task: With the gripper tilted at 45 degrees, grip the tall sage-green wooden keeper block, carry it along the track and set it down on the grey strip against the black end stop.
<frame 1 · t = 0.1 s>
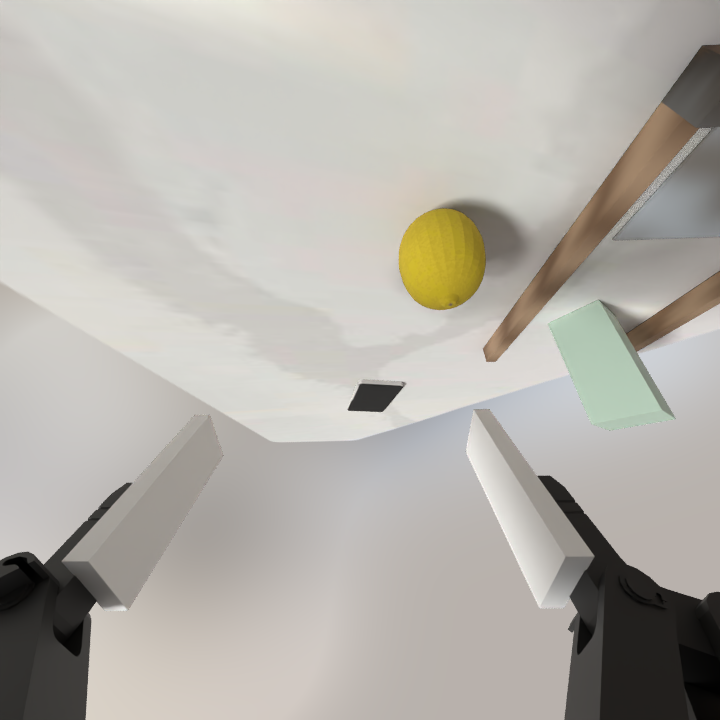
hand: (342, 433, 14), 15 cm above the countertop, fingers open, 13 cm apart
keeper block: (580, 319, 31), on the countertop
lemon: (430, 220, 20), on the countertop
smartphone: (372, 393, 52), on the countertop
track: (718, 199, 19), on the countertop
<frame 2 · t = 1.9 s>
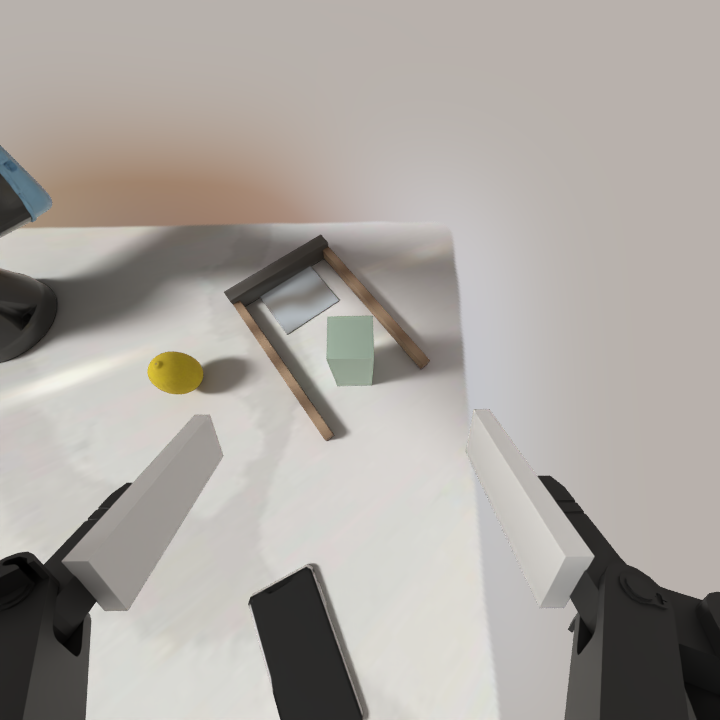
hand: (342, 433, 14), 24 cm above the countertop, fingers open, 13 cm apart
keeper block: (354, 369, 40), on the countertop
lemon: (195, 381, 40), on the countertop
smartphone: (305, 649, 30), on the countertop
track: (303, 304, 44), on the countertop
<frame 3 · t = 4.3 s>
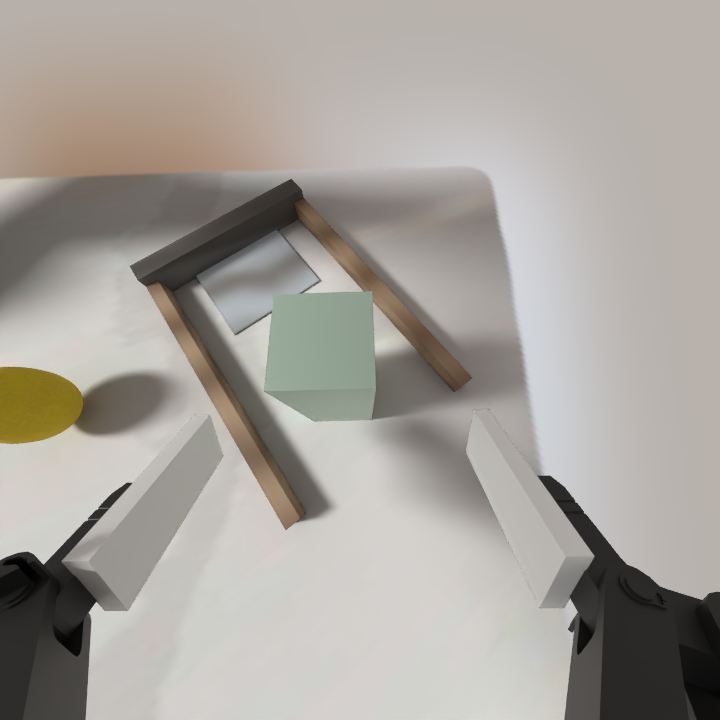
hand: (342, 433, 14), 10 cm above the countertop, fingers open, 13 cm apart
keeper block: (342, 392, 24), on the countertop
lemon: (79, 413, 24), on the countertop
track: (263, 287, 28), on the countertop
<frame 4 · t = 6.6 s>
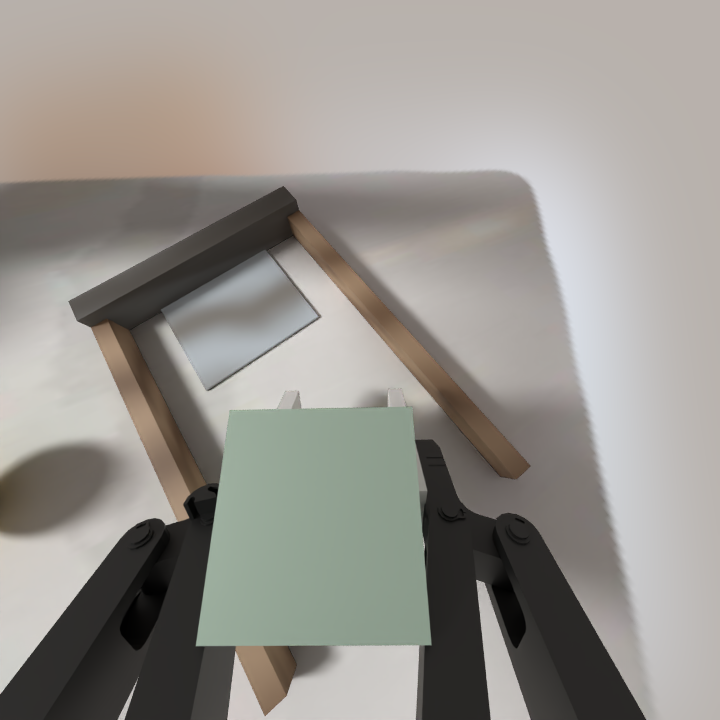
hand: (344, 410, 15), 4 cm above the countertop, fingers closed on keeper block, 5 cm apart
keeper block: (348, 475, 18), on the countertop, touching gripper
track: (246, 325, 22), on the countertop
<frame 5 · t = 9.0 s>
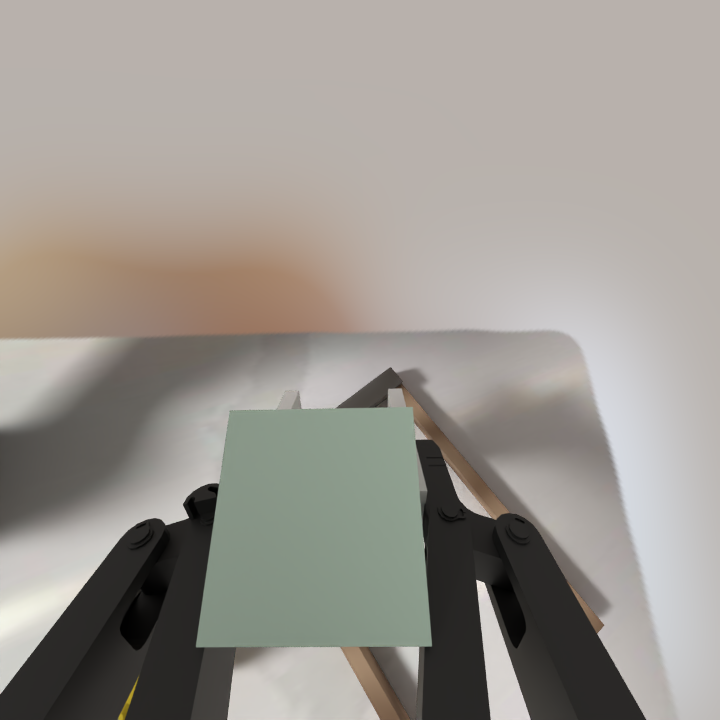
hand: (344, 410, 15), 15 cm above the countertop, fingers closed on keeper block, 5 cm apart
keeper block: (349, 475, 18), point 11 cm above the countertop, touching gripper
track: (366, 481, 28), on the countertop
when the fingers open (5 cm above the countertop, at t = 11.6 s): keeper block drops 1 cm, resting on track.
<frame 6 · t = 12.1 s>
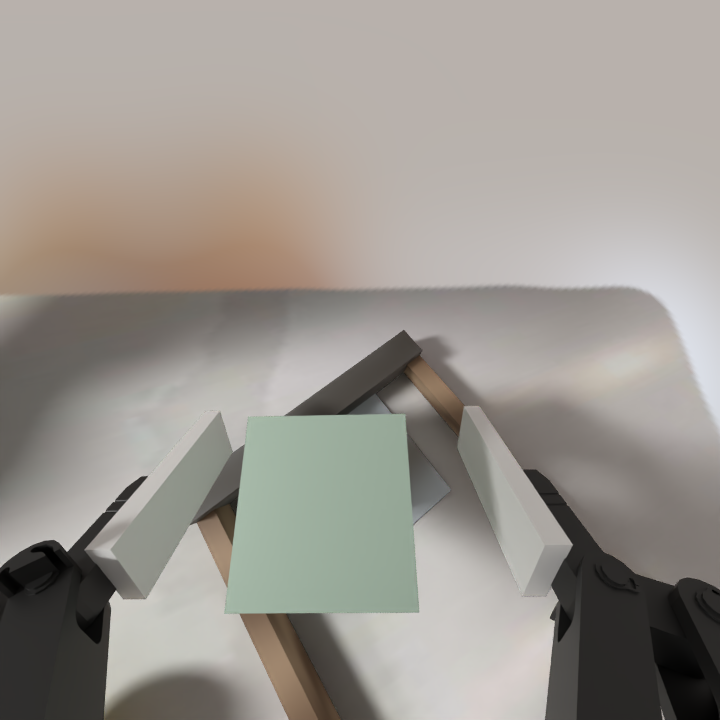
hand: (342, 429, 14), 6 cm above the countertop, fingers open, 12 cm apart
keeper block: (349, 474, 19), resting on track
track: (367, 498, 19), on the countertop
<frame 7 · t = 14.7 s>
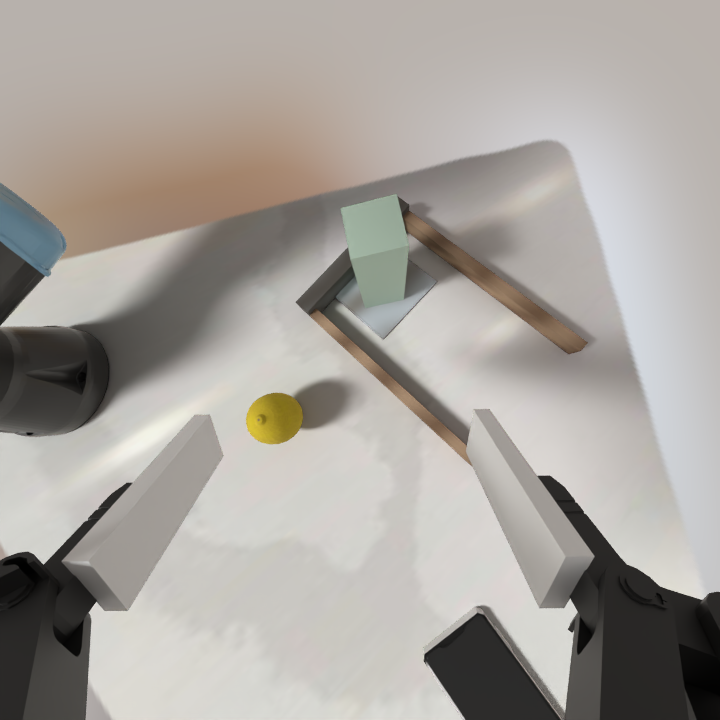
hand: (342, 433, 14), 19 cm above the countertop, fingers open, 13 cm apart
keeper block: (380, 285, 35), resting on track
lemon: (290, 416, 34), on the countertop
smartphone: (497, 693, 27), on the countertop
track: (392, 295, 35), on the countertop
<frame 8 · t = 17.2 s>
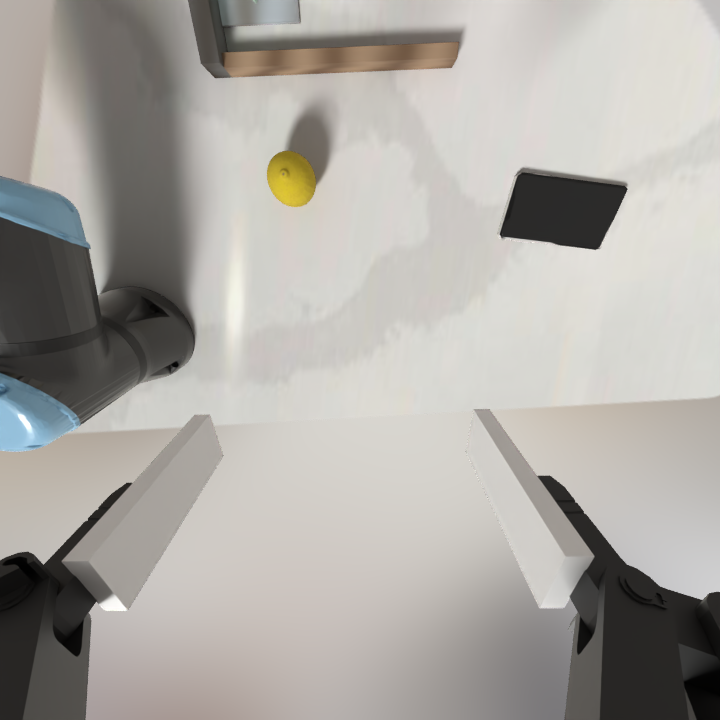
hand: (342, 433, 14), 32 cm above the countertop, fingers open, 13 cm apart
lemon: (299, 185, 36), on the countertop
smartphone: (555, 213, 38), on the countertop
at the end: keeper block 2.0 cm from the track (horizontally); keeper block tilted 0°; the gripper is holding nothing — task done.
